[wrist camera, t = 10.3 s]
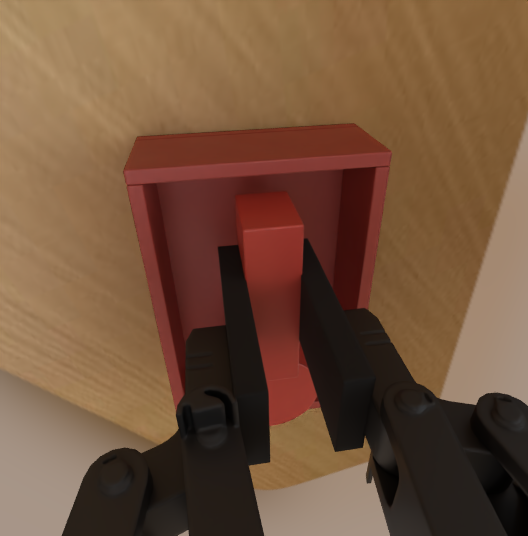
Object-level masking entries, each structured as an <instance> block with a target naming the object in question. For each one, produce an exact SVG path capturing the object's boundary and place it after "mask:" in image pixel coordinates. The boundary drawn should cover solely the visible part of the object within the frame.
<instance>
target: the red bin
mask: <svg viewBox="0 0 528 536" xmlns="http://www.w3.org/2000/svg"><path fill="white" fill-rule="evenodd" d="M391 155H392V151H390V150H389V149H388V148H386V147H385V146H384V145H382V144H381V143H380V142H378V141H377V140H376V139H374V138H373V137H372V136H370V135H369V134H368V133H366V132H365V131H364V130H362V129H361V128H360V127H358V126H357V125H356V124H338V125H322V126H305V127H289V128H273V129H256V130H240V131H224V132H208V133H191V134H175V135H159V136H142V137H137V138H136V141H135V143H134V146H133V148H132V151H131V153H130V156H129V158H128V161H127V163H126V166H125V168H124V171H123V172H124V177H125V182H126V184H127V191H128V195H129V200H130V204H131V209H132V213H133V218H134V222H135V227H136V232H137V236H138V241H139V245H140V250H141V254H142V259H143V263H144V268H145V272H146V277H147V282H148V286H149V291H150V295H151V300H152V304H153V309H154V313H155V318H156V322H157V327H158V332H159V336H160V341H161V345H162V350H163V354H164V359H165V363H166V368H167V372H168V377H169V382H170V386H171V391H172V395H173V400H174V404H175V409H176V411H177V405H178V403H179V402H180V400H181V399H182V397H183V396H184V395H185V370H186V368H185V358H186V340H187V339H188V337H189V335H190V333H191V331H192V330H193V329H196V328H205V327H213V326H222V325H226V324H225V315H224V306H223V296H222V286H221V275H220V265H219V255H218V247H220V246H230V245H238V243H237V228H236V212H235V195H242V194H255V193H267V192H280V191H287V193H288V195H289V197H290V199H291V201H292V203H293V205H294V207H295V209H296V211H297V213H298V214H299V216H300V218H301V220H302V222H303V224H304V239H305V238H308V240H309V242H310V244H311V246H312V248H313V250H314V252H315V254H316V256H317V258H318V260H319V262H320V264H321V266H322V268H323V270H324V272H325V274H326V276H327V278H328V280H329V282H330V284H331V286H332V288H333V291H334V293H335V295H336V297H337V299H338V301H339V303H340V305H341V307H342V309H343V310H351V309H359V308H366V309H367V310H368V305H369V299H370V292H371V286H372V279H373V273H374V266H375V260H376V253H377V247H378V240H379V234H380V227H381V221H382V214H383V208H384V201H385V195H386V188H387V182H388V175H389V169H390V167H389V166H390V162H391ZM319 407H320V403H319V400H318V397H316V399H315V401H314V402H313V404H312V405H311V406H310V407H309V408H308V409H312V408H319Z"/></svg>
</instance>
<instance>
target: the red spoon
mask: <svg viewBox="0 0 528 536" xmlns="http://www.w3.org/2000/svg"><path fill="white" fill-rule="evenodd" d="M235 212H236V228H237V243H238V247H239V252H240V257H241V262H242V267H243V272H244V277H245V280H246V282H247V287H248V292H249V297H250V302H251V306H252V311H253V316H254V321H255V326H256V331H257V336H258V341H259V346H260V351H261V356H262V361H263V366H264V371H265V376H266V381H267V386H268V391H269V426H272V425H278V424H281V423H285V422H288V421H290V420H292V419H294V418H296V417H298V416H300V415H301V414H303V413H304V412H305V411H306V410H307V409H308V408H309V407H310V406H311V405H312V404H313V402H314V401H315V399H316V397H317V394H316V391H315V388H314V385H313V381H312V378H311V375H310V372H309V369H308V366H307V363H306V360H305V356H304V353H303V350H302V347H301V344H300V341H299V324H300V295H301V275H302V269H303V244H304V224H303V222H302V220H301V218H300V216H299V214H298V213H297V211H296V209H295V207H294V205H293V203H292V201H291V199H290V197H289V195H288V193H287V191H280V192H267V193H255V194H242V195H235Z"/></svg>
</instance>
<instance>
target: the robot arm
mask: <svg viewBox="0 0 528 536" xmlns="http://www.w3.org/2000/svg"><path fill="white" fill-rule="evenodd" d="M218 255H219V265H220V275H221V286H222V296H223V306H224V315H225V324H226V325H222V326H213V327H205V328H196V329H193V330H192V331H191V333H190V335H189V337H188V339H187V340H186V358H185V368H186V370H185V395H184V396H183V397H182V399H181V400H180V402H179V403H178V405H177V411H176V418H177V423H178V427H179V429H178V431H177V432H176V433H175V434H174V435H173V436H172V437H171V438H170V439H169V440H167V441H166V442H164V443H162V444H160V445H159V446H156V447H154V448H152V449H150V450H148V451H146V452H143V453H140V452H138V451H137V450H135V449H129V448H121V449H115V450H112V451H110V452H108V453H106V454H104V455H102V456H100V457H99V458H98V459H97V460H96V461H95V462H94V463H93V464H92V465H91V466H90V468H89V469H88V471H87V473H86V475H85V476H84V478H83V481H82V483H81V486H80V489H79V491H78V494H77V497H76V499H75V502H74V505H73V507H72V510H71V512H70V515H69V518H68V520H67V523H66V526H65V528H64V531H63V534H62V536H178V535H179V534H181V533H183V532H185V531H186V530H189V536H264V533H263V528H262V525H261V519H260V515H259V510H258V506H257V501H256V497H255V492H254V488H253V483H252V479H251V474H250V470H249V465H255V464H261V463H268V462H270V430H269V391H268V386H267V381H266V376H265V371H264V366H263V361H262V356H261V351H260V346H259V341H258V336H257V331H256V326H255V321H254V316H253V311H252V306H251V302H250V297H249V292H248V287H247V282H246V280H245V277H244V272H243V267H242V262H241V257H240V252H239V247H238V245H230V246H220V247H218ZM299 341H300V344H301V347H302V350H303V353H304V356H305V360H306V363H307V366H308V369H309V372H310V375H311V378H312V381H313V385H314V388H315V391H316V394H317V397H318V400H319V403H320V407H321V410H322V413H323V416H324V419H325V422H326V425H327V428H328V432H329V435H330V438H331V441H332V444H333V447H334V450H335V452H338V451H344V450H351V449H357V448H363V443H364V438H365V436H366V439H367V441H368V444H369V446H370V449H371V454H370V459H369V463H368V468H367V473H366V480H367V483H371V480H372V476H373V478H374V481H375V485H376V488H377V492H378V495H379V498H380V502H381V506H382V509H383V512H384V515H385V519H386V523H387V526H388V530H389V533H390V536H528V406H527V405H526V404H525V403H523V402H522V401H521V400H519V399H517V398H514V397H512V396H510V395H507V394H501V393H488V394H485V395H484V396H482V397H480V398H479V400H478V402H477V405H472V404H465V403H458V402H451V401H446V400H442V399H439V398H437V397H436V396H435V395H434V394H433V392H431V391H430V390H428V389H427V388H426V387H424V386H422V385H420V384H417V383H416V382H415V381H414V379H413V378H412V376H411V374H410V372H409V371H408V369H407V367H406V366H405V364H404V362H403V361H402V359H401V357H400V355H399V354H398V352H397V350H396V349H395V347H394V345H393V344H392V343H391V341H390V338H389V337H388V335H387V333H385V330H384V328H383V327H382V325H381V323H380V321H379V320H378V318H377V317H376V316H374V315H373V314H372V313H371V312H369V311H368V310H367V309H366V308H359V309H351V310H343V309H342V307H341V305H340V303H339V301H338V299H337V297H336V295H335V293H334V291H333V288H332V286H331V284H330V282H329V280H328V278H327V276H326V274H325V272H324V270H323V268H322V266H321V264H320V262H319V260H318V258H317V256H316V254H315V252H314V250H313V248H312V246H311V244H310V242H309V240H308V238H305V239H304V244H303V269H302V275H301V295H300V324H299Z"/></svg>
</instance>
